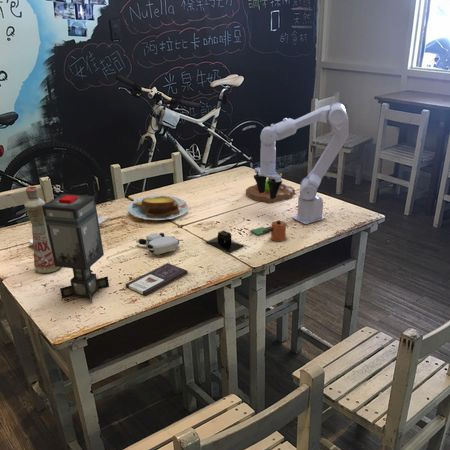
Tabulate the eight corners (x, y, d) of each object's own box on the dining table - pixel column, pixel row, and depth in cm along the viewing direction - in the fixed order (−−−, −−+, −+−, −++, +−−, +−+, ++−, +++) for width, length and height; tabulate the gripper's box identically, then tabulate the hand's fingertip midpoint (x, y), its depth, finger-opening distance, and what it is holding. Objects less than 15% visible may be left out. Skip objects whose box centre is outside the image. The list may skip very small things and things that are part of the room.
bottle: (68, 263, 172) (51, 182, 158) (54, 275, 165) (35, 191, 151) (44, 261, 174) (26, 181, 160) (30, 273, 167) (9, 190, 152)
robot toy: (134, 248, 183) (154, 260, 172) (132, 236, 181) (152, 247, 170) (164, 239, 189) (185, 250, 178) (163, 228, 187) (184, 238, 176)
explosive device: (80, 282, 160) (62, 190, 145) (109, 286, 158) (94, 193, 142) (62, 298, 152) (40, 202, 137) (92, 303, 149) (74, 205, 134)
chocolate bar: (187, 270, 163) (145, 292, 152) (187, 273, 164) (145, 295, 152) (167, 262, 168) (125, 283, 157) (167, 265, 169) (126, 286, 157)
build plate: (244, 246, 181) (244, 234, 178) (229, 253, 176) (229, 241, 174) (219, 236, 188) (219, 225, 186) (205, 243, 184) (204, 231, 181)
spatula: (281, 223, 198) (281, 221, 198) (288, 227, 194) (288, 225, 194) (250, 231, 192) (250, 229, 191) (257, 236, 188) (257, 234, 188)
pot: (279, 234, 189) (280, 217, 185) (288, 239, 185) (289, 221, 181) (258, 240, 185) (258, 223, 181) (266, 245, 181) (267, 227, 177)
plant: (238, 194, 227) (237, 170, 222) (268, 184, 239) (268, 160, 233) (271, 205, 215) (271, 179, 209) (301, 194, 226) (302, 169, 220)
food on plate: (179, 198, 225) (178, 184, 222) (197, 217, 205) (196, 202, 202) (122, 207, 217) (120, 192, 214) (135, 227, 198) (133, 211, 194)
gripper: (248, 158, 195) (248, 192, 202) (270, 166, 184) (269, 202, 191) (263, 155, 198) (263, 188, 205) (286, 163, 187) (284, 199, 194)
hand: (267, 195), depth 198 cm, fingers open, 7 cm apart
